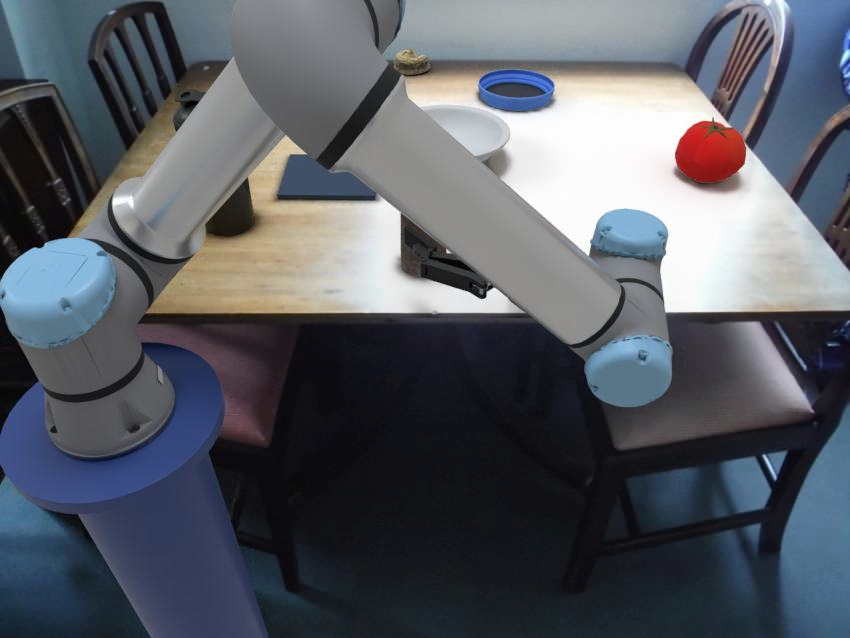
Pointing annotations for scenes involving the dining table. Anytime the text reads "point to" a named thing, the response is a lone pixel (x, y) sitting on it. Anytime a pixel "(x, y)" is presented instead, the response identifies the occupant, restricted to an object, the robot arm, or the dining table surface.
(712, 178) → the tomato
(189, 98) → the water bottle
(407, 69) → the cake
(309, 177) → the mat
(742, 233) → the dining table surface
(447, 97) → the dining table surface
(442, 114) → the soup bowl
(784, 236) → the dining table surface
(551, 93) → the bowl
